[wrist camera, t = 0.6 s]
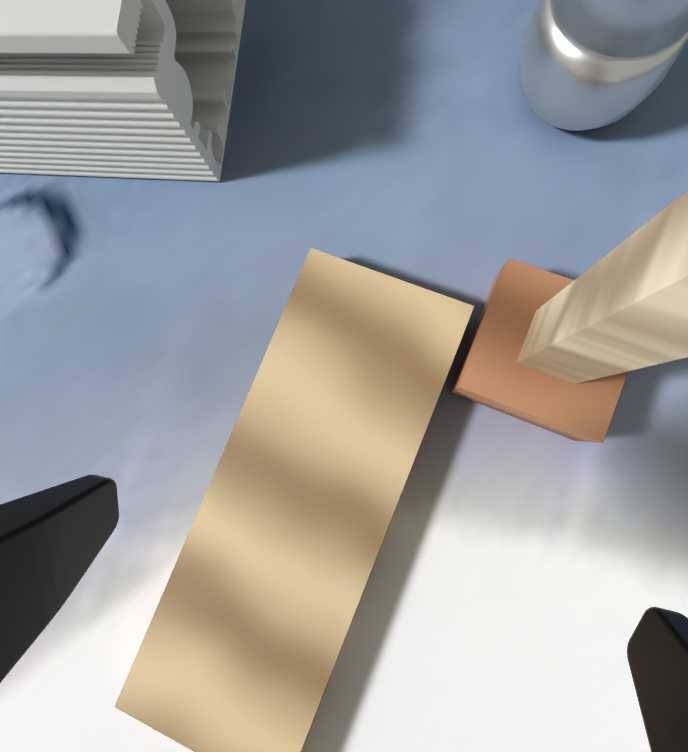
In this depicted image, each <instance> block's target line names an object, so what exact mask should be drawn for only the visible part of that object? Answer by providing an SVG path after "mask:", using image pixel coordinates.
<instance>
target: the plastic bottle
mask: <svg viewBox="0 0 688 752" xmlns="http://www.w3.org/2000/svg"><path fill="white" fill-rule="evenodd" d="M687 39H688V0H538V3H537V5H536V7H535V9H534V11H533V13H532V15H531V17H530V19H529V21H528V23H527V26H526V29H525V32H524V36H523V42H522V48H521V54H520V59H519V69H518V74H519V82H520V86H521V89H522V91H523V94H524V96H525V98H526V100H527V102H528V104H529V106H530V107H531V109H532V110H533V111H534V112H535V114H536V115H537V116H538V117H539V118H541V119H542V120H544V121H545V122H546V123H548V124H550V125H552V126H555V127H557V128H560V129H565V130H572V131H582V130H590V129H595V128H600V127H603V126H606V125H609V124H612V123H614V122H616V121H618V120H620V119H621V118H623V117H625V116H626V115H627V114H628V113H630V112H631V111H632V110H633V109H634V108H635V107H637V106H638V105H639V104H640V103H641V102H642V101H643V100H644V99H645V98H647V97H648V96H649V95H650V94H651V93H652V92H653V91H654V90H655V89H656V88H657V87H658V86H659V84H660V83H661V82H662V81H663V80H664V78H665V77H666V75H667V73H668V72H669V70H670V69H671V67H672V65H673V64H674V62H675V60H676V59H677V57H678V56H679V54H680V52H681V51H682V49H683V47H684V45H685V43H686V41H687Z"/></svg>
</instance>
